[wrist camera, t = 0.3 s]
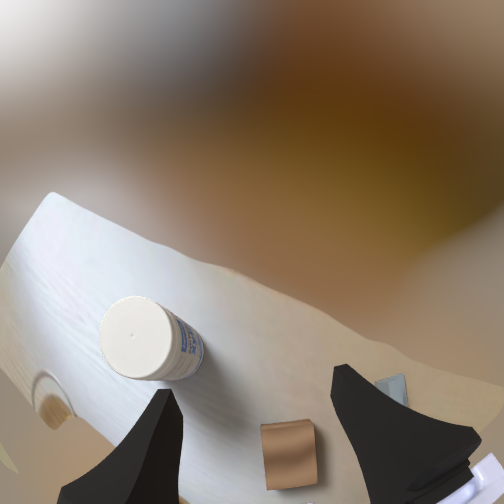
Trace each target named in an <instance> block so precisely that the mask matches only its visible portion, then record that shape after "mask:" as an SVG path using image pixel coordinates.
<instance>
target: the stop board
mask: <svg viewBox="0 0 504 504" xmlns="http://www.w3.org/2000/svg"><path fill="white" fill-rule="evenodd" d="M375 387H376V388H378V389H379V390H380V391H382V392H383V393H385V394H386V395H388V396H389V397H391V398H392V399H394V400H395V401H397V402H399V403H400V404H402V405H404V406H406V407H408V403H407V395H406V387H405V380H404V374H403V373H401V374H398V375H395V376H392V377H389V378H386V379H383V380H380V381H377V382H375Z"/></svg>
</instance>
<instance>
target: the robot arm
mask: <svg viewBox="0 0 504 504" xmlns="http://www.w3.org/2000/svg"><path fill="white" fill-rule="evenodd" d="M330 396H331V399H332V402H333V406H334V408H335V411H336V414H337V416H338V418H339V420H340V422H341V424H342V426H343V428H344V430H345V432H346V434H347V436H348V438H349V440H350V442H351V444H352V446H353V448H354V451H355V453H356V455H357V458H358V461H359V464H360V467H361V470H362V473H363V476H364V480H365V483H366V487H367V490H368V494H369V498H370V502H371V504H493V503H494V502H495V501H496V500H497V499H498V498H499V497H500V496H501V495H502V494H503V493H504V469H503V468H502V466H501V465H500V463H499V462H498V461H497V459H496V458H495V456H494V455H493V454H492V453H490V454H489V455H487V456H486V457H485V458H484V459H483V460H481V461H480V462H479V463H478V464H476V465H475V466H474V467H473V468H472V469H471V470H470V469H469V467H468V466H469V465H470V462H469V460H468V458H469V456H470V455H471V454H472V453H473V452H474V451H475V450H476V449H477V448H478V446H479V445H480V443H481V441H482V440H481V438H480V436H479V435H478V434H477V432H476V431H475V430H474V429H473V428H472V427H468V426H462V425H456V424H451V423H447V422H443V421H440V420H437V419H434V418H431V417H428V416H425V415H423V414H420V413H418V412H416V411H414V410H412V409H410V408H408V407H406V406H404V405H402V404H400V403H399V402H397V401H395V400H394V399H392V398H391V397H389V396H388V395H386V394H385V393H383V392H382V391H380V390H379V389H378V388H376V387H375V386H374V385H372V384H371V383H370V382H368V381H367V380H366V379H365V378H363V377H362V376H361V375H360V374H359V373H357V372H356V371H355V370H354V369H353V368H351V367H350V366H349V365H348V364H343V365H339V366H335V367H334V372H333V380H332V388H331V395H330ZM182 441H183V415H182V413H181V411H180V408H179V406H178V404H177V402H176V399H175V397H174V394H173V392H172V390H171V389H158V390H157V391H156V393H155V395H154V396H153V398H152V399H151V401H150V403H149V404H148V406H147V407H146V409H145V410H144V412H143V413H142V415H141V416H140V418H139V419H138V421H137V422H136V424H135V425H134V426H133V428H132V429H131V430H130V432H129V433H128V434H127V435H126V437H125V438H124V439H123V440H122V442H121V443H120V444H119V445H118V446H117V447H116V448H115V449H114V450H113V451H112V452H111V453H110V454H109V455H108V456H107V457H106V458H105V459H104V460H103V461H102V462H100V463H99V464H98V465H97V466H96V467H94V468H93V469H91V470H90V471H89V472H87V473H86V474H84V475H83V476H81V477H80V478H78V479H76V480H75V481H73V482H71V483H69V484H67V485H65V486H63V487H62V488H61V491H60V494H59V498H58V501H57V504H179V495H178V475H179V465H180V457H181V449H182ZM308 504H314V503H308Z"/></svg>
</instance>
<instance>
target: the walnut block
mask: <svg viewBox="0 0 504 504" xmlns="http://www.w3.org/2000/svg"><path fill="white" fill-rule="evenodd" d="M261 436H262V446H263V456H264V466H265V476H266V486H267V490H276V489H285V488H293V487H300V486H306V485H312V484H317V483H318V480H317V463H316V449H315V436H314V424H313V423H312V422H311V421H310V420H309V419H303V420H297V421H289V422H281V423H272V424H262V425H261Z"/></svg>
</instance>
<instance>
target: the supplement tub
mask: <svg viewBox="0 0 504 504" xmlns="http://www.w3.org/2000/svg"><path fill="white" fill-rule="evenodd" d="M99 343H100V348H101V352H102V354H103V357H104V359H105V360H106V362H107V363H108V365H109V366H110V367H111V368H112V369H113V370H114V371H115V372H117V373H118V374H120V375H122V376H124V377H127V378H131V379H135V380H146V381H173V380H182V379H185V378H188V377H189V376H191V375H192V374H193V373H195V372H196V370H197V369H198V368H199V366H200V364H201V362H202V359H203V344H202V341H201V338H200V336H199V334H198V333H197V332H196V331H195V329H193V328H192V327H191V326H190V325H188V324H187V323H186V322H184V321H183V320H181V319H180V318H179V317H177V316H176V315H174V314H173V313H172V312H170V311H169V310H168V309H166V308H165V307H164V306H162V305H161V304H159V303H158V302H156V301H153V300H151V299H149V298H146V297H142V296H130V297H126V298H124V299H121V300H119V301H118V302H116V303H115V304H114V305H113V306H112V307H111V308H110V309H109V310H108V311H107V313H106V314H105V316H104V318H103V320H102V323H101V326H100V332H99Z"/></svg>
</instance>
